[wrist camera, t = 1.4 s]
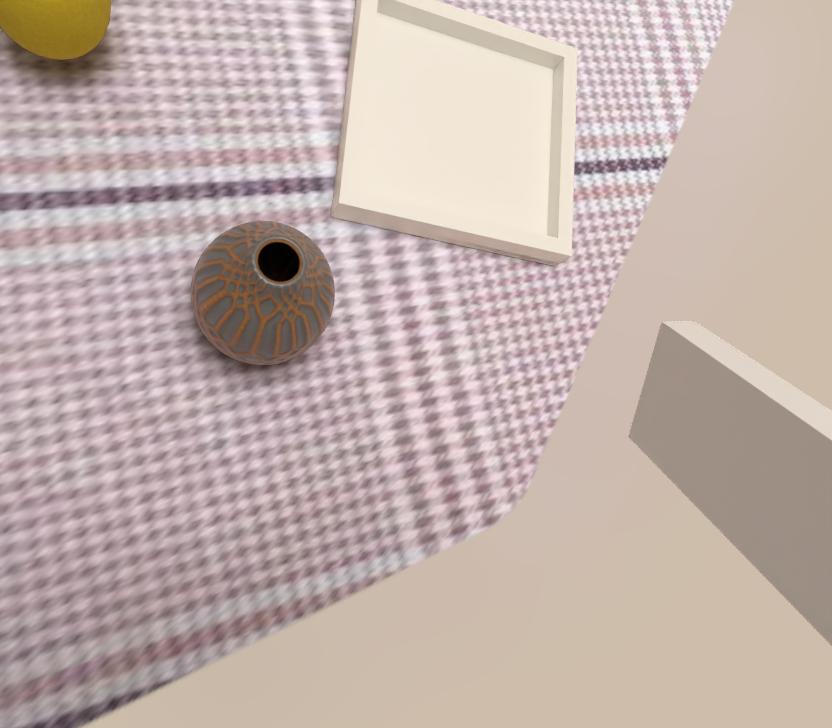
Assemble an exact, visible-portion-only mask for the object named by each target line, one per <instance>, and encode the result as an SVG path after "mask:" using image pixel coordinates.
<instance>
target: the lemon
mask: <svg viewBox="0 0 832 728" xmlns="http://www.w3.org/2000/svg"><path fill="white" fill-rule="evenodd" d="M110 12H111V0H0V27H1V28H2V29H3V31H4V32H5V33H6V34H7V35H8V36H9V37H10V38H12V39H13V40H14V41H15V42H16V43H17V44H19V45H20V46H21V47H23V48H25V49H27V50H28V51H30V52H32V53H34V54H36V55H39V56H43V57H46V58H49V59H58V60H65V59H74V58H77V57H80V56H82V55H85V54H86V53H88V52H89V51H91V50H92V49H94V48H95V47H96V46H97V45H98V43H99V42H100V41H101V40H102V38H103V37H104V35H105V32H106V30H107V27H108V24H109V21H110Z"/></svg>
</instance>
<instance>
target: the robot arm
mask: <svg viewBox="0 0 832 728" xmlns="http://www.w3.org/2000/svg"><path fill="white" fill-rule="evenodd" d="M629 438H630V439H631V440H632V441H633V442H634V443H635V444H636V445H637V446H638V447H639V448H640V449H641V450H642V451H643V452H644V453H645V454H646V455H647V456H648V457H649V458H650V459H651V460H652V461H653V462H654V463H655V465H657V467H658V468H659V469H660V470H661V471H662V472H663V473H664V474H665V475H666V476H667V477H668V478H669V479H670V480H671V481H672V482H673V483H674V484H675V485H676V486H677V487H678V488H679V489H680V490H681V491H682V492H683V493H684V494H685V495H686V496H687V497H688V498H689V500H691V502H692V503H693V504H694V505H695V506H696V507H697V508H698V509H699V510H700V511H701V512H702V513H703V514H704V515H705V516H706V517H707V518H708V519H709V520H710V521H711V522H712V523H713V524H714V525H715V526H716V527H717V528H718V529H719V530H720V531H721V532H722V533H723V534H724V536H725V537H727V539H729V541H730V542H731V543H732V544H733V545H734V546H735V547H736V548H737V549H738V550H739V551H740V552H741V553H742V554H743V555H744V556H745V557H746V558H747V559H748V560H749V561H750V562H751V563H752V564H753V565H754V566H755V567H756V568H757V569H758V570H759V572H760V573H761V574H763V576H764V577H765V578H766V579H767V580H768V581H769V582H770V583H771V584H772V585H773V586H774V587H775V588H776V589H777V590H778V591H779V592H780V593H781V594H782V595H783V596H784V597H785V598H786V599H787V600H788V601H789V602H790V603H791V604H792V605H793V606H794V608H796V609H797V611H798V612H799V613H800V614H801V615H802V616H803V617H804V618H805V619H806V620H807V621H808V622H809V623H810V624H811V625H812V626H813V627H814V628H815V629H816V630H817V631H818V632H819V633H820V634H821V635H822V636H823V637H824V638H825V639H826V640H827V641H828V642H829V643H830V645H832V411H831V410H829V409H828V408H826V407H825V406H823V405H821V404H820V403H818V402H817V401H816V400H814V399H812V398H811V397H809V396H808V395H806V394H805V393H803V392H802V391H800V390H799V389H797V388H796V387H794V386H792V385H791V384H790V383H788V382H786V381H785V380H783V379H782V378H780V377H779V376H777V375H776V374H774V373H773V372H771V371H770V370H768V369H767V368H765V367H763V366H762V365H760V364H759V363H757V362H756V361H754V360H753V359H751V358H750V357H748V356H747V355H745V354H743V353H742V352H740V351H739V350H737V349H736V348H734V347H733V346H731V345H730V344H728V343H727V342H725V341H724V340H722V339H721V338H719V337H717V336H716V335H714V334H713V333H711V332H710V331H708V330H707V329H705V328H704V327H702V326H700V325H699V324H698V323H696V322H694V321H670V322H669V321H668V322H662V323H661V326H660V330H659V333H658V337H657V340H656V343H655V347H654V350H653V354H652V357H651V361H650V364H649V368H648V371H647V375H646V378H645V382H644V385H643V388H642V392H641V395H640V399H639V402H638V406H637V409H636V413H635V416H634V419H633V423H632V427H631V430H630V433H629Z"/></svg>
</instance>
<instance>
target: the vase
mask: <svg viewBox="0 0 832 728" xmlns="http://www.w3.org/2000/svg"><path fill="white" fill-rule="evenodd" d="M334 296H335V290H334V281H333V276H332V272H331V269H330V267H329V264H328V262H327V260H326V258H325V256H324V255H323V253H322V252H321V250H320V249H319V248H318V246H317V245H316V244H315V243H314V242H313V241H312V240H311V239H310V238H308V237H307V236H306V235H305V234H303V233H302V232H300V231H298V230H296V229H295V228H292V227H290V226H287V225H285V224H281V223H277V222H271V221H255V222H249V223H245V224H241V225H238V226H236V227H233V228H231V229H229V230H227V231H226V232H224V233H222V234H221V235H220V236H218V237H217V238H216V239H215V240H214V241H213V242H212V243H211V244H210V245H209V246H208V247H207V248H206V249H205V251H204V252H203V254H202V255H201V257H200V259H199V260H198V262H197V265H196V267H195V270H194V274H193V278H192V284H191V302H192V308H193V312H194V316H195V318H196V321H197V324H198V326H199V327H200V329H201V331H202V332H203V334H204V335H205V337H206V338H207V339H208V340H209V341H210V343H211V344H212V345H214V346H215V347H216V348H217V349H218V350H219V351H221V352H222V353H224V354H225V355H227V356H229V357H231V358H233V359H235V360H238V361H241V362H244V363H248V364H255V365H272V364H278V363H282V362H285V361H288V360H290V359H292V358H294V357H296V356H298V355H300V354H301V353H303V352H304V351H306V350H307V349H308V348H309V347H311V346H312V345H313V344H314V343H315V342H316V341H317V340H318V338H319V337H320V336H321V334H322V333H323V331H324V330H325V328H326V326H327V325H328V322H329V320H330V317H331V314H332V311H333V306H334Z"/></svg>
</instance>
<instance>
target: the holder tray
mask: <svg viewBox="0 0 832 728" xmlns="http://www.w3.org/2000/svg"><path fill="white" fill-rule="evenodd" d="M577 51H578V49H577V48H574V47H571V46H568V45H565V44H562V43H560V42H557V41H554V40H551V39H548V38H545V37H542V36H539V35H536V34H533V33H530V32H527V31H524V30H522V29H519V28H516V27H513V26H510V25H507V24H504V23H501V22H498V21H495V20H492V19H489V18H486V17H484V16H481V15H478V14H475V13H472V12H469V11H466V10H463V9H460V8H457V7H454V6H451V5H448V4H445V3H443V2H440V1H437V0H356V3H355V12H354V21H353V29H352V38H351V47H350V55H349V64H348V73H347V81H346V90H345V99H344V107H343V116H342V125H341V133H340V142H339V151H338V159H337V168H336V177H335V185H334V194H333V203H332V211H331V217H334V218H339V219H343V220H348V221H352V222H357V223H361V224H366V225H370V226H375V227H380V228H384V229H389V230H393V231H398V232H402V233H407V234H411V235H416V236H420V237H425V238H429V239H434V240H438V241H443V242H447V243H452V244H456V245H461V246H466V247H470V248H475V249H479V250H484V251H488V252H493V253H497V254H502V255H506V256H511V257H515V258H520V259H524V260H529V261H533V262H538V263H542V264H547V265H552V266H556V265H558V264H559V263H561V262H563V261H564V260H566V259H568V258H569V257H571V256H572V223H573V189H574V155H575V120H576V86H577Z"/></svg>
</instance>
